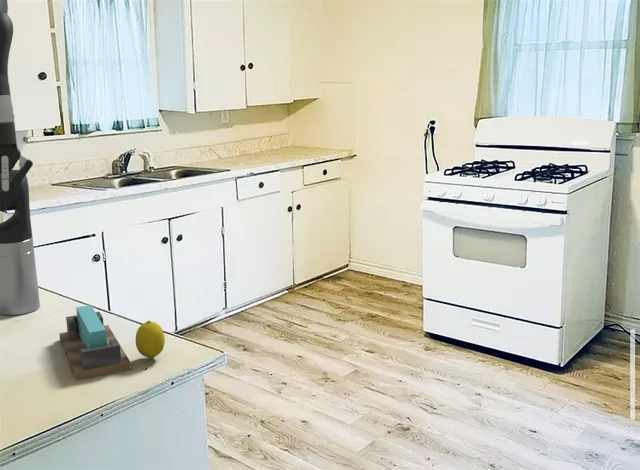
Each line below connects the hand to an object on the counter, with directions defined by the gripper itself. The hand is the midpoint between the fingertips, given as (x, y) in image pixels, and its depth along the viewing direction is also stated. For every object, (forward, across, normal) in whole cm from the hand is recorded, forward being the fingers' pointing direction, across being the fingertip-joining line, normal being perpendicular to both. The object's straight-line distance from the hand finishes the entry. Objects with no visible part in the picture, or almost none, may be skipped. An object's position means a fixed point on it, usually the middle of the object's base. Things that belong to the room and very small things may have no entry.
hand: (3, 209), depth 133 cm
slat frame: (+29, -13, +10) cm, 33 cm away
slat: (+28, -13, +10) cm, 32 cm away
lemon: (+29, -23, +18) cm, 41 cm away
